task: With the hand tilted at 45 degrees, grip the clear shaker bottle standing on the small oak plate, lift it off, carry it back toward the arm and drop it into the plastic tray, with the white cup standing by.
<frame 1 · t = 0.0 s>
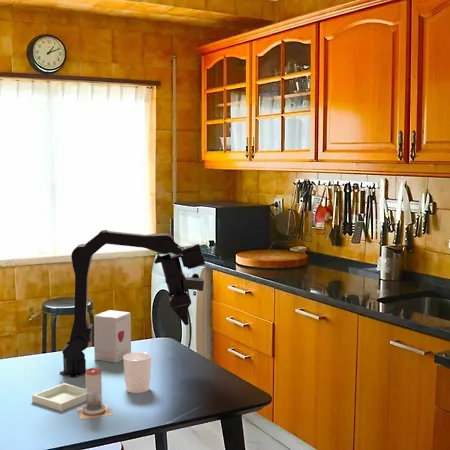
hand: (186, 321, 204), 15 cm above the table, tool pointing down, fingers open, 9 cm apart
white cup: (137, 390, 188), on the table
keeper plate: (94, 413, 171), on the table
clear shaker bottle: (94, 411, 171), resting on keeper plate
supplement box: (113, 358, 218), on the table
tray: (63, 401, 179), on the table
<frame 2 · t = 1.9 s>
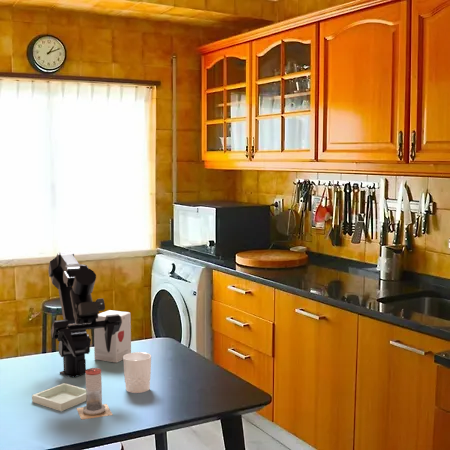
hand: (92, 353, 177), 13 cm above the table, tool tilted 45°, fingers open, 9 cm apart
nothing on the table moved.
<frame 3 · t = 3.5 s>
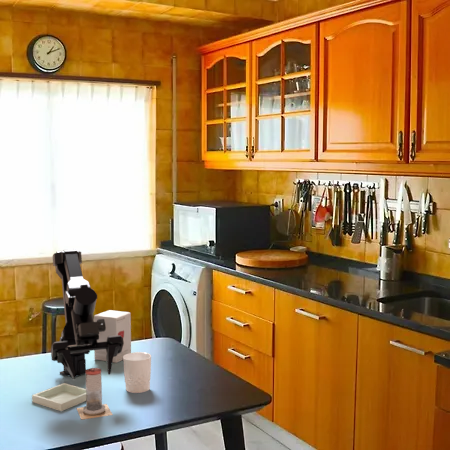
hand: (92, 376, 172), 9 cm above the table, tool tilted 45°, fingers open, 9 cm apart
nothing on the table moved.
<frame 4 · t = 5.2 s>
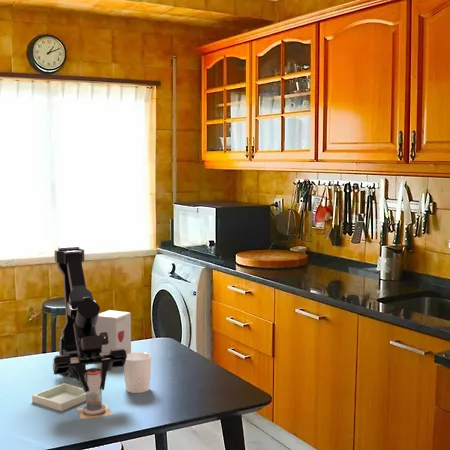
hand: (94, 390, 169), 7 cm above the table, tool tilted 45°, fingers closed on clear shaker bottle, 4 cm apart
clear shaker bottle: (94, 411, 171), resting on keeper plate, touching gripper
everything else where it was.
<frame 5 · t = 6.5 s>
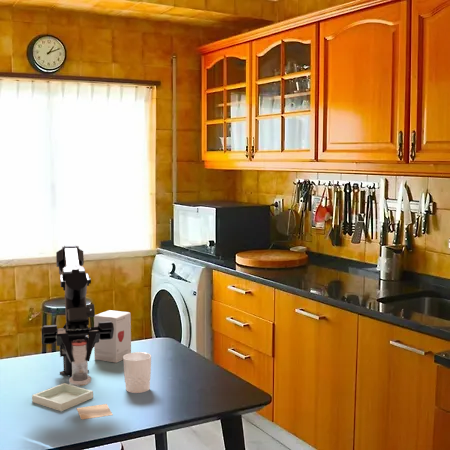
hand: (79, 361, 171), 13 cm above the table, tool tilted 45°, fingers closed on clear shaker bottle, 4 cm apart
clear shaker bottle: (80, 381, 173), point 7 cm above the table, touching gripper
everything else where it was.
when the fingers open (8 cm above the table, at t = 8.3 s): clear shaker bottle drops 1 cm, resting on tray.
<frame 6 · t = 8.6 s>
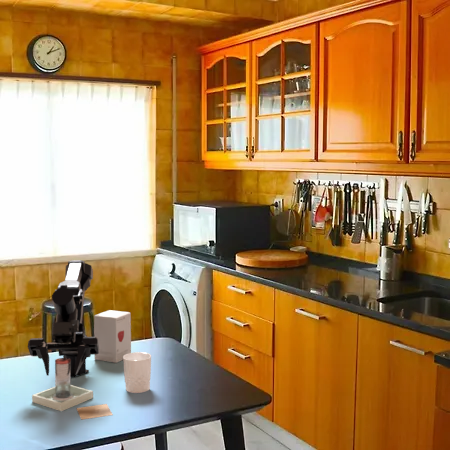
hand: (61, 374, 177), 8 cm above the table, tool tilted 45°, fingers open, 7 cm apart
clear shaker bottle: (63, 399, 179), point 1 cm above the table, touching tray
everything else where it was.
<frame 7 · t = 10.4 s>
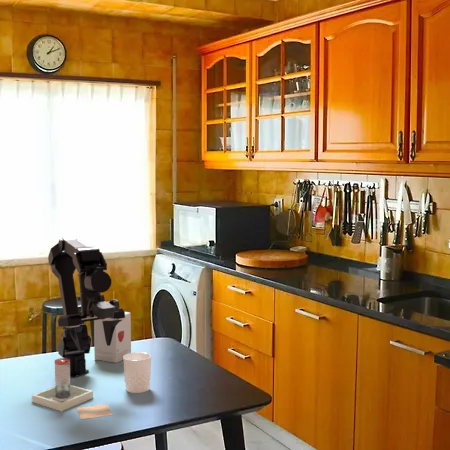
hand: (94, 348, 183), 13 cm above the table, tool pointing down, fingers open, 9 cm apart
nothing on the table moved.
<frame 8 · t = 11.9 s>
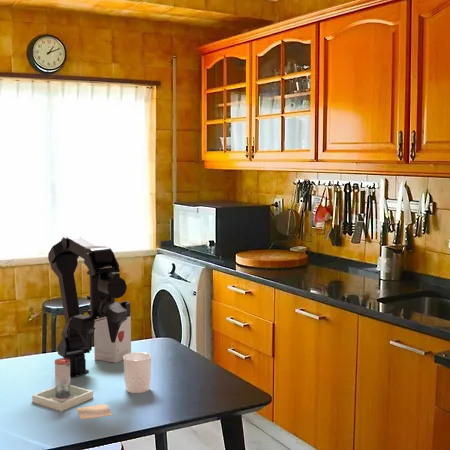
hand: (101, 346, 186), 13 cm above the table, tool pointing down, fingers open, 9 cm apart
nothing on the table moved.
at the end: clear shaker bottle inside the target area on the tray (0.1 cm from its centre), point 0.5 cm above the tray's base; the gripper is holding nothing; clear shaker bottle moved 13.1 cm from its start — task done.
